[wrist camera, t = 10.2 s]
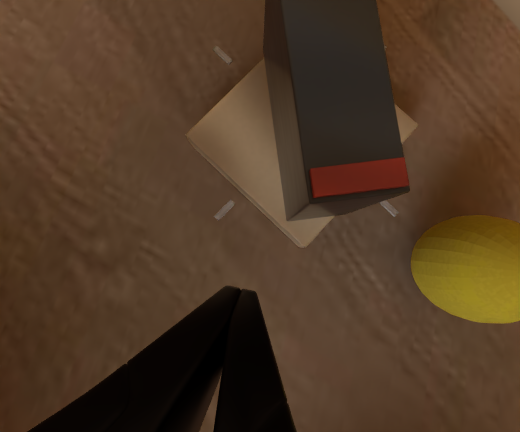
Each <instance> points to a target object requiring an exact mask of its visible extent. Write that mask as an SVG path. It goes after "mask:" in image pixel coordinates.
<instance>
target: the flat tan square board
mask: <svg viewBox="0 0 520 432" xmlns="http://www.w3.org/2000/svg"><path fill="white" fill-rule="evenodd" d="M384 48H385V49H386V48H387V46H385V45H384ZM213 51H214V52H215V53H216V54H217V55H218V56H219V57H220V58H222V59H223V60H224V61H225V62H226V63H227V64H228V65H229V64H230V63H231V62H232V59H231V58H230V57H229V56H228V55H227V54H225V53H224V52H223V51H222V50H221V49H220V48H219V47H218V46H217V45H216V46H215V47H214V48H213ZM395 109H396V115H397V120H398V126H399V132H400V137H401V143H403V142H404V141H405V140H406V139H407V138H408V137H409V136H410V134H411V133H412V132H413V131H414V130H415V129H416V128H417V127H418V124H417V123H416V122H415V121H414V120H412V119H411V118H410V117H409V116H408V115H407V114H406V113H405V112H403V111H402V110H401V109H400V108H399V107H398V106H397V105H396V104H395ZM186 137H187V138H188V140H189V142H190V143H191V145H192V146H193V148H194V149H195V150H197V151H198V152H199V153H200V154H201V155H202V156H203V157H204V158H205V159H206V160H207V161H208V162H209V163H210V164H211V165H212V166H213V167H215V168H216V169H217V170H218V171H219V172H220V173H221V174H222V175H223V176H224V177H225V178H226V179H227V180H228V181H229V182H230V183H231V184H232V185H234V186H235V187H236V188H237V189H238V190H239V191H240V192H241V193H242V194H243V195H244V196H245V197H246V198H247V199H248V200H249V201H250V202H252V203H253V204H254V205H255V206H256V207H257V208H258V209H259V210H260V211H261V212H262V213H263V214H264V215H265V216H266V217H267V218H268V219H269V220H271V221H272V222H273V223H274V224H275V225H276V226H277V227H278V228H279V229H280V230H281V231H282V232H283V233H284V234H285V235H286V236H287V237H289V238H290V239H291V240H292V241H293V242H294V243H295V244H296V245H297V246H298V247H299V248H305V247H307V246H308V244H309V243H310V242H311V241H312V240H313V239H314V238H315V237H316V236H317V235H318V234H319V233H320V232H321V230H322V229H323V228H324V227H325V226H326V225H327V224H328V223H329V222H330V221H331V220H332V219H333V217H334V216H328V217H320V218H312V219H304V220H296V221H287V220H286V214H285V206H284V199H283V192H282V184H281V177H280V170H279V162H278V155H277V148H276V140H275V133H274V126H273V118H272V111H271V104H270V97H269V89H268V82H267V75H266V67H265V60H264V58H263V59H262V60H261V61H260V62H259V63H258V64H257V65H256V66H255V67H254V68H253V69H252V70H251V71H250V72H249V73H248V74H247V75H246V76H245V77H244V78H243V79H242V80H241V81H240V82H239V83H238V84H237V85H236V86H235V87H234V88H232V89H231V90H230V91H229V92H228V93H227V94H226V95H225V96H224V97H223V98H222V99H221V100H220V101H219V102H218V103H217V104H216V105H215V106H214V107H213V108H212V109H211V110H210V111H209V112H208V113H207V114H206V115H205V116H204V117H203V118H202V119H201V120H200V121H199V122H198V123H197V124H196V125H195V126H194V127H193V128H192V129H191V130H190V131H189V132H188V133H187V134H186ZM379 203H380V204H381V205H382V206H383V207H384V208H385V209H386V210H387V211H388V212H389V213H391V214H392V215H393V216H394V217H395V216H396V215H397V214H398V213H399V212H398V211H397V210H396V209H395V208H394V207H393V206H392V205H391V204H389V203H388V202H387V201H386V200H385V201H382V202H379ZM234 205H235V203H234V202H233V201H232V200H230V201H229V202H228V203H227V204H226V205H225V206H224V207H223V208H222V209H221V210H220V211H219V212H218V213H217V214H216V215H215V216H214V217H215V218H216V219H217V220H218V221H219V220H220V219H221V218H222V217H223V216H224V215H225V214H226V213H227V212H228V211H229V210H230V209H231V208H232V207H233V206H234Z"/></svg>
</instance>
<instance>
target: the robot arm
mask: <svg viewBox="0 0 520 432" xmlns="http://www.w3.org/2000/svg"><path fill="white" fill-rule="evenodd" d="M221 373H222V375H221ZM220 376H221V382H220V389H219V396H218V403H217V410H216V417H215V424H214V431H213V432H297V431H296V428H295V425H294V422H293V418H292V415H291V411H290V408H289V405H288V403H287V398H286V395H285V391H284V388H283V384H282V380H281V377H280V373H279V370H278V366H277V363H276V359H275V356H274V352H273V349H272V345H271V342H270V338H269V335H268V331H267V328H266V324H265V321H264V317H263V314H262V310H261V307H260V303H259V300H258V296H257V293H256V292H255V291H251V290H247V289H242V290H240V288H237V287H233V286H225V287H223V288H222V289H221V290H219V291H218V292H217V293H216V294H214V295H213V296H212V297H210V298H209V299H208V300H206V301H205V302H204V303H203V304H201V305H200V306H199V307H197V308H196V309H195V310H194V311H192V312H191V313H190V314H188V315H187V316H186V317H185V318H183V319H182V320H181V321H179V322H178V323H177V324H176V325H174V326H173V327H172V328H170V329H169V330H168V331H166V332H165V333H164V334H163V335H161V336H160V337H159V338H157V339H156V340H155V341H154V342H152V343H151V344H150V345H148V346H147V347H146V348H145V349H143V350H142V351H141V352H139V353H138V354H137V355H136V356H134V357H133V358H132V359H130V360H129V361H128V362H127V364H124V365H122V366H121V367H120V368H118V369H117V370H116V371H115V372H113V373H112V374H111V375H109V376H108V377H107V378H105V379H104V380H103V381H101V382H100V383H99V384H97V385H96V386H95V387H93V388H92V389H90V390H89V391H88V392H86V393H85V394H83V395H82V396H81V397H79V398H78V399H76V400H75V401H73V402H72V403H70V404H69V405H67V406H66V407H64V408H63V409H61V410H60V411H58V412H57V413H55V414H54V415H52V416H51V417H49V418H47V419H46V420H44V421H43V422H41V423H40V424H38V425H37V426H35V427H34V428H32V429H30V430H29V431H27V432H199V430H200V427H201V425H202V422H203V420H204V417H205V415H206V412H207V410H208V407H209V405H210V402H211V400H212V397H213V394H214V392H215V389H216V387H217V384H218V382H219V379H220Z"/></svg>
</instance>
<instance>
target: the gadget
mask: <svg viewBox="0 0 520 432" xmlns="http://www.w3.org/2000/svg"><path fill="white" fill-rule="evenodd" d="M263 53H264V60H265V67H266V75H267V82H268V89H269V97H270V104H271V111H272V118H273V126H274V133H275V140H276V148H277V155H278V162H279V170H280V177H281V184H282V192H283V199H284V206H285V214H286V220H287V221H296V220H304V219H312V218H320V217H328V216H336V215H344V214H347V213H350V212H353V211H356V210H359V209H362V208H365V207H367V206H370V205H373V204H376V203H379V202H382V201H385V200H387V199H390V198H393V197H396V196H399V195H402V194H405V193H408V192H409V191H410V188H409V180H408V175H407V169H406V164H405V158H404V154H403V148H402V143H401V137H400V132H399V126H398V120H397V115H396V109H395V104H394V98H393V92H392V87H391V81H390V76H389V70H388V64H387V59H386V53H385V48H384V42H383V36H382V31H381V25H380V20H379V14H378V8H377V3H376V0H265V16H264V39H263Z"/></svg>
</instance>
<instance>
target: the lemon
mask: <svg viewBox="0 0 520 432" xmlns="http://www.w3.org/2000/svg"><path fill="white" fill-rule="evenodd" d="M411 271H412V274H413V277H414V281H415V282H416V284H417V286H418V287H419V289H420V291H421V292H422V293H423V294H424V295H425V296H426V297H427V298H428V299H429V300H430V301H431V302H432V303H433V304H434V305H436V306H438V307H439V308H441V309H443V310H444V311H446V312H448V313H450V314H452V315H454V316H457V317H461V318H464V319H467V320H471V321H475V322H482V323H512V322H516V321H520V223H517V222H515V221H513V220H509V219H504V218H498V217H493V216H486V215H470V216H459V217H454V218H451V219H448V220H445V221H442V222H440V223H437V224H436V225H434V226H433V227H431V228H430V229H428V230H427V231H425V232H424V233H423V235H422V236H421V237H420V238H419V239H418V241H417V242H416V244H415V246H414V249H413V251H412V256H411Z"/></svg>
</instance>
